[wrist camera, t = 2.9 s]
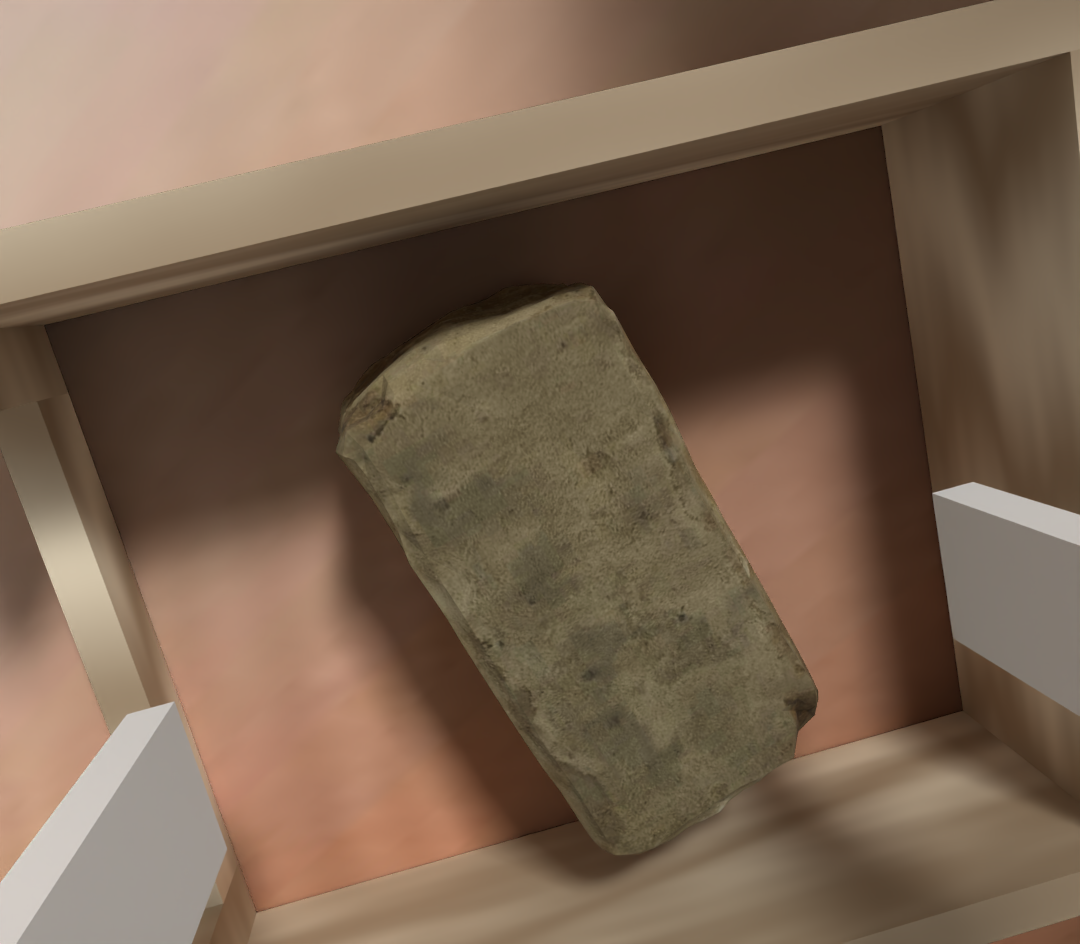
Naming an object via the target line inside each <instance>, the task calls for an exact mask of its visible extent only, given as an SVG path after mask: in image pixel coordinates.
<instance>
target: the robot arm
mask: <svg viewBox="0 0 1080 944" xmlns="http://www.w3.org/2000/svg"><path fill="white" fill-rule="evenodd" d="M932 497H933V503H934V510H935V517H936V524H937V531H938V537H939V544H940V551H941V558H942V565H943V571H944V578H945V585H946V592H947V599H948V605H949V612H950V619H951V626H952V633H953V638H954V639H955V640H957V641H958V642H960V643H962V644H963V645H965V646H967V647H968V648H970V649H971V650H973V651H975V652H976V653H978V654H979V655H981V656H983V657H984V658H986V659H988V660H989V661H991V662H992V663H994V664H996V665H997V666H999V667H1001V668H1002V669H1004V670H1005V671H1007V672H1009V673H1010V674H1012V675H1014V676H1015V677H1017V678H1018V679H1020V680H1022V681H1023V682H1025V683H1026V684H1028V685H1030V686H1031V687H1033V688H1035V689H1036V690H1038V691H1039V692H1041V693H1043V694H1044V695H1046V696H1048V697H1049V698H1051V699H1052V700H1054V701H1056V702H1057V703H1059V704H1061V705H1062V706H1064V707H1065V708H1067V709H1069V710H1070V711H1072V712H1073V713H1075V714H1077V715H1078V716H1080V515H1079V514H1076V513H1072V512H1069V511H1066V510H1063V509H1059V508H1056V507H1053V506H1050V505H1046V504H1043V503H1040V502H1037V501H1033V500H1030V499H1027V498H1024V497H1020V496H1017V495H1014V494H1011V493H1007V492H1004V491H1001V490H998V489H994V488H991V487H988V486H985V485H981V484H978V483H975V482H971V483H967V484H963V485H960V486H956V487H953V488H949V489H945V490H942V491H938V492H934V493H932ZM226 851H227V847H226V844H225V841H224V838H223V836H222V833H221V830H220V827H219V824H218V822H217V819H216V816H215V813H214V810H213V808H212V805H211V802H210V799H209V796H208V794H207V791H206V788H205V785H204V782H203V780H202V777H201V774H200V771H199V768H198V766H197V763H196V760H195V757H194V754H193V752H192V749H191V746H190V743H189V740H188V738H187V735H186V732H185V729H184V726H183V724H182V721H181V718H180V715H179V712H178V710H177V707H176V704H175V701H174V702H170V703H167V704H163V705H159V706H156V707H152V708H148V709H145V710H141V711H138V712H134V713H130V714H127V715H126V716H125V718H124V719H123V720H122V722H121V723H120V724H119V726H118V727H117V728H116V730H115V731H114V732H113V733H112V735H111V736H110V737H109V739H108V740H107V741H106V743H105V744H104V745H103V747H102V748H101V749H100V751H99V752H98V753H97V755H96V756H95V757H94V759H93V760H92V761H91V763H90V764H89V765H88V767H87V768H86V769H85V771H84V772H83V773H82V775H81V776H80V777H79V779H78V780H77V781H76V783H75V784H74V785H73V787H72V788H71V789H70V791H69V792H68V793H67V795H66V796H65V797H64V799H63V800H62V801H61V803H60V804H59V805H58V807H57V808H56V809H55V811H54V812H53V813H52V815H51V816H50V817H49V819H48V820H47V821H46V823H45V824H44V825H43V827H42V828H41V829H40V831H39V832H38V833H37V835H36V836H35V837H34V839H33V840H32V841H31V843H30V844H29V845H28V847H27V848H26V849H25V851H24V852H23V853H22V855H21V856H20V857H19V859H18V860H17V861H16V863H15V864H14V865H13V867H12V868H11V869H10V871H9V872H8V873H7V875H6V876H5V877H4V879H3V880H2V881H1V883H0V944H192V942H193V939H194V936H195V934H196V931H197V928H198V926H199V923H200V920H201V918H202V915H203V912H204V910H205V907H206V904H207V902H208V899H209V896H210V894H211V891H212V888H213V886H214V883H215V880H216V878H217V875H218V872H219V870H220V867H221V864H222V862H223V859H224V856H225V854H226Z"/></svg>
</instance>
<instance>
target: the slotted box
mask: <svg viewBox="0 0 1080 944" xmlns="http://www.w3.org/2000/svg"><path fill="white" fill-rule="evenodd" d="M881 125H882V133H883V140H884V147H885V154H886V161H887V168H888V176H889V183H890V190H891V197H892V204H893V212H894V219H895V226H896V233H897V240H898V248H899V255H900V262H901V269H902V276H903V283H904V291H905V298H906V305H907V312H908V319H909V327H910V334H911V341H912V348H913V355H914V363H915V370H916V377H917V384H918V391H919V398H920V406H921V413H922V420H923V427H924V434H925V442H926V449H927V456H928V463H929V470H930V478H931V485H932V492H933V493H934V492H938V491H942V490H945V489H949V488H953V487H956V486H960V485H963V484H967V483H971V482H975V483H978V484H981V485H985V486H988V487H991V488H994V489H998V490H1001V491H1004V492H1007V493H1011V494H1014V495H1017V496H1020V497H1024V498H1027V499H1030V500H1033V501H1037V502H1040V503H1043V504H1046V505H1050V506H1053V507H1056V508H1059V509H1063V510H1066V511H1069V512H1072V513H1076V514H1079V515H1080V0H993V1H989V2H985V3H980V4H976V5H972V6H967V7H963V8H959V9H954V10H950V11H946V12H941V13H937V14H933V15H928V16H924V17H920V18H915V19H911V20H907V21H902V22H898V23H894V24H889V25H885V26H881V27H876V28H872V29H868V30H863V31H859V32H855V33H850V34H846V35H842V36H837V37H833V38H829V39H824V40H820V41H816V42H811V43H807V44H803V45H798V46H794V47H790V48H785V49H781V50H777V51H772V52H768V53H764V54H759V55H755V56H751V57H746V58H742V59H738V60H733V61H729V62H725V63H720V64H716V65H712V66H707V67H703V68H699V69H694V70H690V71H686V72H681V73H677V74H673V75H668V76H664V77H660V78H655V79H651V80H647V81H642V82H638V83H634V84H629V85H625V86H621V87H616V88H612V89H608V90H603V91H599V92H595V93H590V94H586V95H582V96H577V97H573V98H569V99H564V100H560V101H556V102H551V103H547V104H543V105H538V106H534V107H530V108H525V109H521V110H517V111H512V112H508V113H504V114H499V115H495V116H491V117H486V118H482V119H478V120H473V121H469V122H465V123H460V124H456V125H452V126H447V127H443V128H439V129H434V130H430V131H426V132H421V133H417V134H413V135H408V136H404V137H400V138H395V139H391V140H387V141H382V142H378V143H374V144H369V145H365V146H361V147H356V148H352V149H348V150H343V151H339V152H335V153H330V154H326V155H322V156H317V157H313V158H309V159H304V160H300V161H296V162H291V163H287V164H283V165H278V166H274V167H270V168H265V169H261V170H257V171H252V172H248V173H244V174H239V175H235V176H231V177H226V178H222V179H218V180H213V181H209V182H205V183H200V184H196V185H192V186H187V187H183V188H179V189H174V190H170V191H166V192H161V193H157V194H153V195H148V196H144V197H140V198H135V199H131V200H127V201H122V202H118V203H114V204H109V205H105V206H101V207H96V208H92V209H88V210H83V211H79V212H75V213H70V214H66V215H62V216H57V217H53V218H49V219H44V220H40V221H36V222H31V223H27V224H23V225H18V226H14V227H10V228H5V229H1V230H0V449H1V452H2V455H3V457H4V460H5V462H6V465H7V468H8V470H9V473H10V475H11V478H12V481H13V483H14V486H15V488H16V491H17V494H18V496H19V499H20V501H21V504H22V507H23V509H24V512H25V514H26V517H27V519H28V522H29V525H30V527H31V530H32V532H33V535H34V538H35V540H36V543H37V545H38V548H39V551H40V553H41V556H42V558H43V561H44V564H45V566H46V569H47V571H48V574H49V576H50V579H51V582H52V584H53V587H54V589H55V592H56V595H57V597H58V600H59V602H60V605H61V608H62V610H63V613H64V615H65V618H66V621H67V623H68V626H69V628H70V631H71V633H72V636H73V639H74V641H75V644H76V646H77V649H78V652H79V654H80V657H81V659H82V662H83V665H84V667H85V670H86V672H87V675H88V678H89V680H90V683H91V685H92V688H93V691H94V693H95V696H96V698H97V701H98V703H99V706H100V709H101V711H102V714H103V716H104V719H105V722H106V724H107V727H108V729H109V732H110V735H112V733H113V732H114V731H115V730H116V728H117V727H118V726H119V724H120V723H121V722H122V720H123V719H124V718H125V716H126V715H127V714H130V713H134V712H138V711H141V710H145V709H148V708H152V707H156V706H159V705H163V704H167V703H170V702H174V701H175V704H176V707H177V710H178V712H179V715H180V718H181V721H182V724H183V726H184V729H185V732H186V735H187V738H188V740H189V743H190V746H191V749H192V752H193V754H194V757H195V760H196V763H197V766H198V768H199V771H200V774H201V777H202V780H203V782H204V785H205V788H206V791H207V794H208V796H209V799H210V802H211V805H212V808H213V810H214V813H215V816H216V819H217V822H218V824H219V827H220V830H221V833H222V836H223V838H224V841H225V844H226V847H227V851H226V854H225V856H224V859H223V862H222V864H221V867H220V870H219V872H218V875H217V878H216V880H215V883H214V886H213V888H212V891H211V894H210V896H209V899H208V902H207V904H206V907H205V910H204V912H203V915H202V918H201V920H200V923H199V926H198V928H197V931H196V934H195V936H194V939H193V942H192V944H989V943H992V942H995V941H999V940H1002V939H1005V938H1009V937H1012V936H1015V935H1018V934H1022V933H1025V932H1028V931H1032V930H1035V929H1038V928H1041V927H1045V926H1048V925H1051V924H1055V923H1058V922H1061V921H1064V920H1068V919H1071V918H1074V917H1078V916H1080V716H1078V715H1077V714H1075V713H1073V712H1072V711H1070V710H1069V709H1067V708H1065V707H1064V706H1062V705H1061V704H1059V703H1057V702H1056V701H1054V700H1052V699H1051V698H1049V697H1048V696H1046V695H1044V694H1043V693H1041V692H1039V691H1038V690H1036V689H1035V688H1033V687H1031V686H1030V685H1028V684H1026V683H1025V682H1023V681H1022V680H1020V679H1018V678H1017V677H1015V676H1014V675H1012V674H1010V673H1009V672H1007V671H1005V670H1004V669H1002V668H1001V667H999V666H997V665H996V664H994V663H992V662H991V661H989V660H988V659H986V658H984V657H983V656H981V655H979V654H978V653H976V652H975V651H973V650H971V649H970V648H968V647H967V646H965V645H963V644H962V643H960V642H958V641H957V640H955V639H954V638H953V643H954V650H955V657H956V664H957V672H958V679H959V686H960V693H961V700H962V708H963V711H961V712H957V713H954V714H950V715H947V716H943V717H940V718H936V719H933V720H929V721H926V722H922V723H919V724H915V725H912V726H908V727H905V728H901V729H898V730H894V731H891V732H887V733H884V734H880V735H877V736H873V737H870V738H866V739H863V740H859V741H856V742H852V743H849V744H845V745H842V746H838V747H835V748H831V749H828V750H824V751H821V752H817V753H814V754H810V755H807V756H803V757H800V758H796V759H793V760H790V761H788V762H786V763H784V764H783V765H781V766H779V767H777V768H775V769H774V770H772V771H771V772H770V773H769V774H767V775H766V776H765V777H764V778H763V779H761V780H760V781H759V782H757V783H755V784H754V785H752V786H750V787H748V788H746V789H744V790H743V791H742V792H740V793H739V794H738V795H736V796H735V797H734V798H732V799H731V800H730V801H729V802H728V803H727V804H726V805H725V807H724V808H723V809H722V810H721V811H720V812H719V813H717V814H715V815H713V816H711V817H709V818H707V819H705V820H703V821H701V822H699V823H696V824H694V825H692V826H690V827H688V828H686V829H685V830H684V831H683V832H681V833H680V834H679V835H677V836H676V837H675V838H673V839H671V840H670V841H668V842H666V843H664V844H662V845H660V846H658V847H656V848H653V849H651V850H649V851H646V852H644V853H641V854H636V855H613V854H611V853H609V852H606V851H604V850H602V849H600V847H599V846H598V845H597V844H596V843H595V842H594V841H593V839H592V838H591V837H590V836H589V834H588V833H587V831H586V830H585V828H584V827H583V825H582V824H581V822H580V821H576V822H572V823H569V824H565V825H562V826H558V827H555V828H551V829H548V830H544V831H541V832H537V833H534V834H530V835H527V836H523V837H520V838H516V839H513V840H509V841H506V842H502V843H499V844H495V845H492V846H488V847H485V848H481V849H478V850H474V851H471V852H467V853H464V854H460V855H457V856H453V857H450V858H446V859H443V860H439V861H436V862H432V863H429V864H425V865H422V866H418V867H415V868H411V869H408V870H404V871H401V872H397V873H394V874H390V875H387V876H383V877H380V878H376V879H373V880H369V881H366V882H362V883H359V884H355V885H352V886H348V887H345V888H341V889H338V890H334V891H331V892H327V893H324V894H320V895H317V896H314V897H310V898H307V899H303V900H300V901H296V902H293V903H289V904H286V905H282V906H279V907H275V908H272V909H268V910H265V911H261V912H258V913H257V912H256V910H255V907H254V904H253V901H252V899H251V896H250V893H249V890H248V888H247V885H246V882H245V879H244V877H243V874H242V871H241V868H240V866H239V863H238V860H237V857H236V854H235V852H234V849H233V846H232V843H231V841H230V838H229V835H228V832H227V830H226V827H225V824H224V821H223V819H222V816H221V813H220V810H219V808H218V805H217V802H216V799H215V797H214V794H213V791H212V788H211V785H210V783H209V780H208V777H207V774H206V772H205V769H204V766H203V763H202V761H201V758H200V755H199V752H198V750H197V747H196V744H195V741H194V739H193V736H192V733H191V730H190V728H189V725H188V722H187V719H186V716H185V714H184V711H183V708H182V705H181V703H180V700H179V697H178V694H177V692H176V689H175V686H174V683H173V681H172V678H171V675H170V672H169V670H168V667H167V664H166V661H165V659H164V656H163V653H162V650H161V647H160V645H159V642H158V639H157V636H156V634H155V631H154V628H153V625H152V623H151V620H150V617H149V614H148V612H147V609H146V606H145V603H144V601H143V598H142V595H141V592H140V590H139V587H138V584H137V581H136V578H135V576H134V573H133V570H132V567H131V565H130V562H129V559H128V556H127V554H126V551H125V548H124V545H123V543H122V540H121V537H120V534H119V532H118V529H117V526H116V523H115V521H114V518H113V515H112V512H111V510H110V507H109V504H108V501H107V498H106V496H105V493H104V490H103V487H102V485H101V482H100V479H99V476H98V474H97V471H96V468H95V465H94V463H93V460H92V457H91V454H90V452H89V449H88V446H87V443H86V441H85V438H84V435H83V432H82V429H81V427H80V424H79V421H78V418H77V416H76V413H75V410H74V407H73V405H72V402H71V399H70V396H69V394H68V391H67V388H66V385H65V383H64V380H63V377H62V374H61V372H60V369H59V366H58V363H57V360H56V358H55V355H54V352H53V349H52V347H51V344H50V341H49V338H48V336H47V333H46V330H45V327H44V325H47V324H51V323H55V322H59V321H63V320H67V319H72V318H76V317H80V316H84V315H88V314H93V313H97V312H101V311H105V310H109V309H114V308H118V307H122V306H126V305H130V304H135V303H139V302H143V301H147V300H151V299H156V298H160V297H164V296H168V295H172V294H177V293H181V292H185V291H189V290H193V289H197V288H202V287H206V286H210V285H214V284H218V283H223V282H227V281H231V280H235V279H239V278H244V277H248V276H252V275H256V274H260V273H265V272H269V271H273V270H277V269H281V268H286V267H290V266H294V265H298V264H302V263H306V262H311V261H315V260H319V259H323V258H327V257H332V256H336V255H340V254H344V253H348V252H353V251H357V250H361V249H365V248H369V247H374V246H378V245H382V244H386V243H390V242H395V241H399V240H403V239H407V238H411V237H416V236H420V235H424V234H428V233H432V232H436V231H441V230H445V229H449V228H453V227H457V226H462V225H466V224H470V223H474V222H478V221H483V220H487V219H491V218H495V217H499V216H504V215H508V214H512V213H516V212H520V211H525V210H529V209H533V208H537V207H541V206H545V205H550V204H554V203H558V202H562V201H566V200H571V199H575V198H579V197H583V196H587V195H592V194H596V193H600V192H604V191H608V190H613V189H617V188H621V187H625V186H629V185H634V184H638V183H642V182H646V181H650V180H655V179H659V178H663V177H667V176H671V175H675V174H680V173H684V172H688V171H692V170H696V169H701V168H705V167H709V166H713V165H717V164H722V163H726V162H730V161H734V160H738V159H743V158H747V157H751V156H755V155H759V154H764V153H768V152H772V151H776V150H780V149H785V148H789V147H793V146H797V145H801V144H805V143H810V142H814V141H818V140H822V139H826V138H831V137H835V136H839V135H843V134H847V133H852V132H856V131H860V130H864V129H868V128H873V127H877V126H881ZM946 593H947V592H946ZM947 600H948V599H947ZM948 607H949V605H948ZM949 614H950V612H949ZM950 621H951V619H950ZM951 628H952V626H951ZM952 636H953V633H952Z"/></svg>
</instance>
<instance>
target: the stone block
mask: <svg viewBox="0 0 1080 944" xmlns="http://www.w3.org/2000/svg"><path fill="white" fill-rule="evenodd" d="M338 431H339V434H340V437H339V441H338V444H337V448H336V453H337V454H338V456H339V457H340V458H341V459H342V461H343V462H344V463H345V465H346V466H347V467H348V468H349V470H350V471H351V472H352V473H353V475H354V476H355V477H356V479H357V480H358V481H359V482H360V484H361V485H362V486H363V488H364V489H365V490H366V491H367V493H368V494H369V495H370V497H371V498H372V500H373V501H374V503H375V504H376V506H377V508H378V509H379V511H380V512H381V514H382V516H383V517H384V519H385V520H386V522H387V523H388V525H389V527H390V528H391V530H392V532H393V533H394V535H395V537H396V538H397V540H398V542H399V543H400V545H401V547H402V548H403V550H404V552H405V554H406V557H407V559H408V562H409V564H410V566H411V567H412V569H413V570H414V571H415V573H416V574H417V576H418V577H419V579H420V580H421V581H422V583H423V584H424V586H425V587H426V589H427V590H428V591H429V593H430V594H431V596H432V597H433V599H434V600H435V602H436V603H437V605H438V606H439V608H440V609H441V610H442V612H443V613H444V615H445V616H446V618H447V619H448V621H449V623H450V624H451V626H452V628H453V629H454V631H455V633H456V634H457V636H458V638H459V639H460V641H461V643H462V644H463V646H464V648H465V649H466V651H467V652H468V654H469V656H470V657H471V659H472V660H473V662H474V663H475V665H476V667H477V668H478V670H479V671H480V673H481V674H482V676H483V678H484V679H485V681H486V682H487V684H488V685H489V687H490V689H491V690H492V692H493V693H494V695H495V696H496V698H497V699H498V701H499V703H500V704H501V706H502V707H503V709H504V710H505V712H506V713H507V715H508V717H509V718H510V720H511V721H512V723H513V724H514V726H515V727H516V729H517V730H518V732H519V733H520V735H521V736H522V738H523V740H524V741H525V743H526V744H527V746H528V747H529V749H530V750H531V751H532V753H533V754H534V756H535V757H536V759H537V760H538V762H539V763H540V764H541V766H542V767H543V769H544V770H545V772H546V773H547V774H548V775H549V777H550V778H551V779H552V781H553V782H554V783H555V785H556V786H557V787H558V789H559V790H560V791H561V793H562V794H563V796H564V798H565V799H566V801H567V802H568V804H569V805H570V807H571V808H572V810H573V812H574V813H575V815H576V816H577V818H578V819H579V821H580V822H581V824H582V825H583V827H584V828H585V830H586V831H587V833H588V834H589V836H590V837H591V838H592V839H593V841H594V842H595V843H596V844H597V845H598V846H599V847H600V849H602V850H604V851H606V852H609V853H611V854H613V855H636V854H641V853H644V852H646V851H649V850H651V849H653V848H656V847H658V846H660V845H662V844H664V843H666V842H668V841H670V840H671V839H673V838H675V837H676V836H677V835H679V834H680V833H681V832H683V831H684V830H685V829H686V828H688V827H690V826H692V825H694V824H696V823H699V822H701V821H703V820H705V819H707V818H709V817H711V816H713V815H715V814H717V813H719V812H720V811H721V810H722V809H723V808H724V807H725V805H726V804H727V803H728V802H729V801H730V800H731V799H732V798H734V797H735V796H736V795H738V794H739V793H740V792H742V791H743V790H744V789H746V788H748V787H750V786H752V785H754V784H755V783H757V782H759V781H760V780H761V779H763V778H764V777H765V776H766V775H767V774H769V773H770V772H771V771H772V770H774V769H775V768H777V767H779V766H781V765H783V764H784V763H786V762H788V761H790V760H791V759H793V758H794V753H795V747H796V740H797V735H798V731H799V730H800V729H801V728H802V727H803V726H804V725H805V724H806V723H807V722H808V721H809V720H810V719H811V718H812V717H813V716H814V715H815V711H816V706H817V702H818V690H817V688H816V686H815V683H814V681H813V679H812V677H811V675H810V673H809V671H808V669H807V667H806V665H805V663H804V661H803V660H802V658H801V656H800V654H799V652H798V650H797V648H796V646H795V644H794V643H793V641H792V639H791V637H790V635H789V634H788V632H787V630H786V628H785V627H784V625H783V623H782V621H781V619H780V618H779V616H778V614H777V612H776V610H775V608H774V606H773V604H772V602H771V601H770V599H769V597H768V595H767V593H766V592H765V590H764V588H763V586H762V585H761V583H760V581H759V579H758V578H757V576H756V574H755V572H754V570H753V569H752V567H751V565H750V563H749V562H748V560H747V558H746V556H745V554H744V553H743V551H742V549H741V547H740V546H739V544H738V542H737V540H736V539H735V537H734V535H733V534H732V532H731V530H730V528H729V527H728V525H727V523H726V522H725V520H724V518H723V516H722V514H721V512H720V510H719V508H718V507H717V505H716V503H715V501H714V499H713V497H712V495H711V493H710V492H709V490H708V488H707V487H706V485H705V483H704V481H703V480H702V478H701V476H700V475H699V473H698V471H697V469H696V468H695V465H694V463H693V461H692V459H691V456H690V454H689V452H688V450H687V447H686V445H685V443H684V441H683V438H682V436H681V434H680V432H679V430H678V428H677V425H676V423H675V421H674V419H673V417H672V414H671V412H670V410H669V408H668V406H667V405H666V403H665V401H664V399H663V397H662V395H661V393H660V392H659V390H658V388H657V386H656V384H655V382H654V381H653V379H652V378H651V376H650V374H649V373H648V371H647V370H646V368H645V366H644V365H643V363H642V362H641V360H640V358H639V357H638V355H637V354H636V352H635V350H634V348H633V346H632V345H631V343H630V341H629V339H628V337H627V335H626V334H625V332H624V330H623V328H622V326H621V324H620V323H619V321H618V319H617V317H616V315H615V313H614V312H613V311H612V310H611V309H610V308H609V307H607V305H606V304H605V303H604V301H603V300H602V298H601V297H600V296H599V294H598V293H597V291H596V290H595V289H594V287H593V286H590V285H586V284H583V283H575V284H572V285H570V286H568V285H566V284H564V283H562V284H560V285H556V284H534V285H522V286H513V287H506V288H505V289H503V290H501V291H499V292H498V293H496V294H494V295H492V296H491V297H489V298H488V299H486V300H483V301H481V302H478V303H476V304H473V305H470V306H465V307H463V308H460V309H458V310H455V311H453V312H450V313H449V314H447V315H446V316H444V317H442V318H441V319H439V320H438V321H436V322H435V323H433V324H432V325H431V326H429V327H428V328H426V329H425V330H424V331H422V332H421V333H419V334H418V335H416V336H415V337H413V338H412V339H410V340H409V341H407V342H406V343H404V344H403V345H401V346H399V347H398V348H396V349H395V350H393V351H392V352H391V353H390V354H389V355H388V356H387V357H383V358H382V359H380V360H379V361H377V362H376V363H374V364H373V365H371V366H370V367H369V369H368V370H367V371H366V372H365V373H364V375H363V376H362V377H361V378H360V379H359V381H358V383H357V384H356V386H355V388H354V389H353V391H352V392H351V393H350V394H349V395H348V396H347V397H346V398H345V399H344V401H343V403H342V407H341V414H340V421H339V428H338Z"/></svg>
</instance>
